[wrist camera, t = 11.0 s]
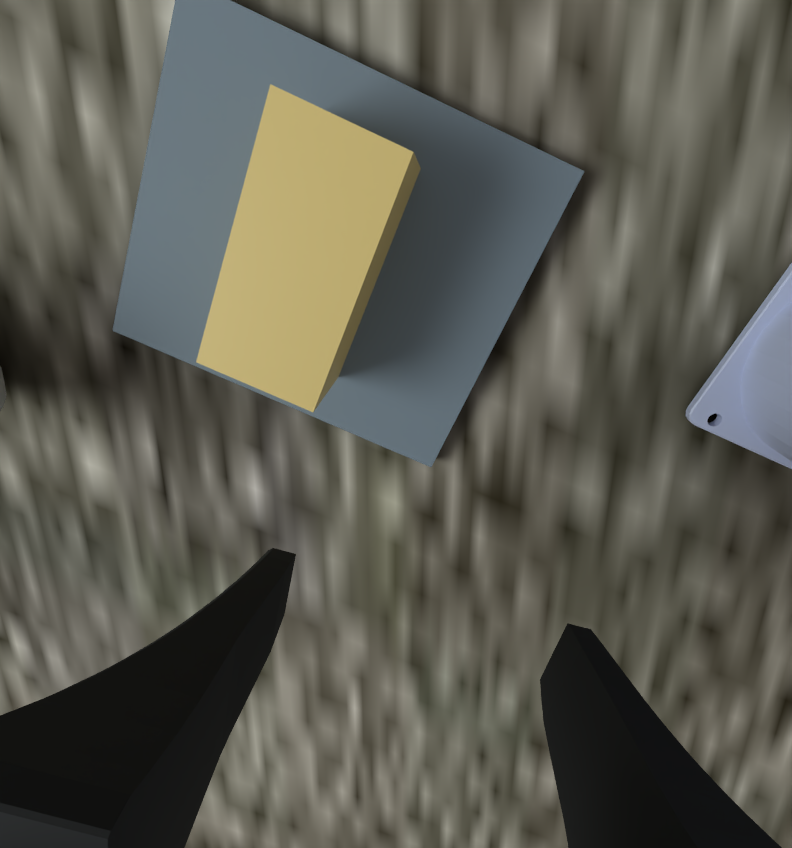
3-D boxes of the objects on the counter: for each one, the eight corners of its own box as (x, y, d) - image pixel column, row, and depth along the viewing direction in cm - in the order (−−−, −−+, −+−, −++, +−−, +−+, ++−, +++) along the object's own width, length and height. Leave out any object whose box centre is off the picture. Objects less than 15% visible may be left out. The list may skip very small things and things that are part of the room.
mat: (578, 173, 17) (584, 171, 16) (431, 459, 21) (431, 467, 21) (192, -13, 16) (180, -24, 15) (124, 326, 20) (112, 330, 20)
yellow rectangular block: (338, 377, 20) (313, 412, 16) (243, 336, 19) (195, 362, 16) (421, 168, 17) (413, 151, 13) (310, 116, 16) (270, 84, 13)
